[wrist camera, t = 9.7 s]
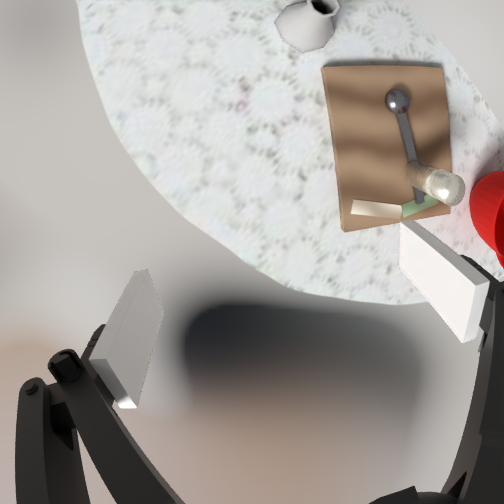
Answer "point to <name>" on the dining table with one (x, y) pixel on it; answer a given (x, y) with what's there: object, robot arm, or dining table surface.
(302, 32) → the flask
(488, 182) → the ceramic cup
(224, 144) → the dining table surface
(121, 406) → the robot arm
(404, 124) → the metal crank handle
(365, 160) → the board
